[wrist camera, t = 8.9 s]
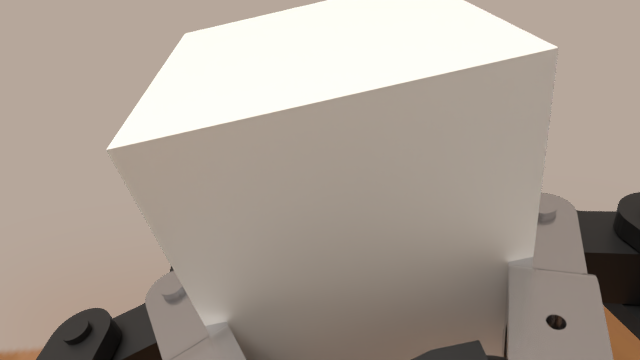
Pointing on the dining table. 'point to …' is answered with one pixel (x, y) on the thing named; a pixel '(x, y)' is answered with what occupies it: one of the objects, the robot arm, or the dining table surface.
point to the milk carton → (346, 174)
